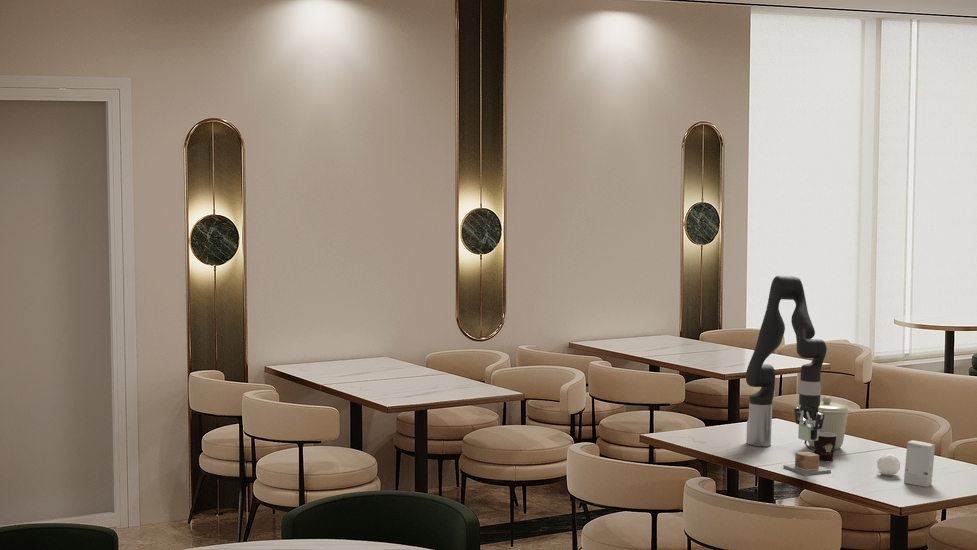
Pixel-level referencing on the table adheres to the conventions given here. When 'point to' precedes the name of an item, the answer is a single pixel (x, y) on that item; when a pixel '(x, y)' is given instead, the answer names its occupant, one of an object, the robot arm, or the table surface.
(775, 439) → the table surface
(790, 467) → the slate board
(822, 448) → the coffee mug
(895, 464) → the white rounded lump
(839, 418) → the canister
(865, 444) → the table surface
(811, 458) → the walnut block
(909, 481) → the skincare box
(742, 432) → the table surface
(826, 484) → the table surface
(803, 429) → the sage cube
